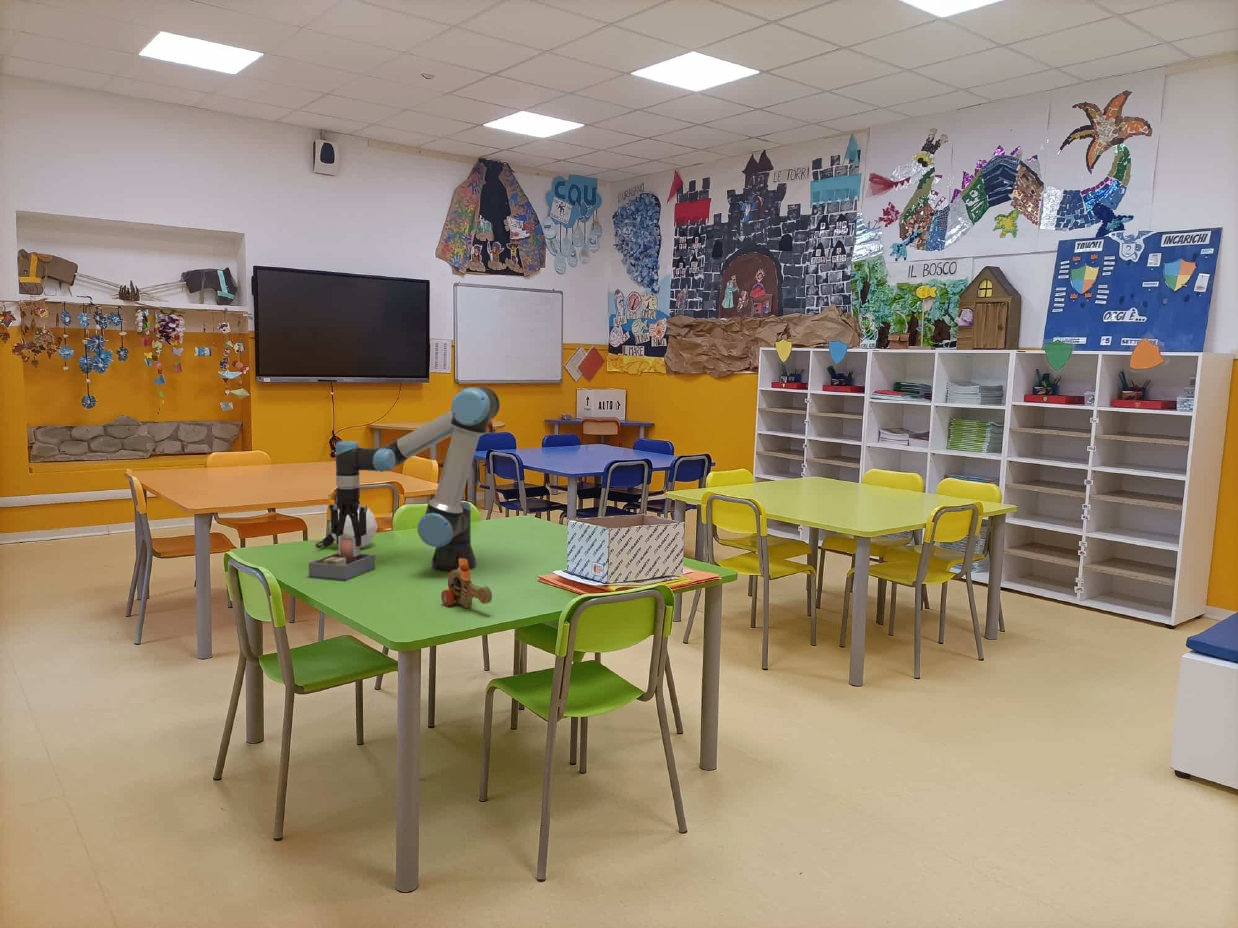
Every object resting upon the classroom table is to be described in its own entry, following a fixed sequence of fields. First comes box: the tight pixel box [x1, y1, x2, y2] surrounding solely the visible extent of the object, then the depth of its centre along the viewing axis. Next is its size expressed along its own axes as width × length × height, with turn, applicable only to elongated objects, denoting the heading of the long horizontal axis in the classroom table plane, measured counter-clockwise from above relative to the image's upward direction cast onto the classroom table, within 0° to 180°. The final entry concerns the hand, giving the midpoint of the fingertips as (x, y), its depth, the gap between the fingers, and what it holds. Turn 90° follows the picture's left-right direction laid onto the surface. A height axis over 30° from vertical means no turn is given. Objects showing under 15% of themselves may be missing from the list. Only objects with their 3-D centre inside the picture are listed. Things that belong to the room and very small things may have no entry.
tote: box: [308, 552, 376, 582], centre depth 292 cm, size 18×14×5 cm
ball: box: [315, 495, 378, 549], centre depth 331 cm, size 17×25×24 cm
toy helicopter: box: [441, 558, 493, 609], centre depth 253 cm, size 8×21×14 cm, turn 43°
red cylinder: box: [341, 538, 357, 562], centre depth 295 cm, size 5×5×7 cm
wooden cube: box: [324, 557, 346, 565], centre depth 288 cm, size 5×5×5 cm
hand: (349, 554), depth 296 cm, fingers closed on red cylinder, 5 cm apart
